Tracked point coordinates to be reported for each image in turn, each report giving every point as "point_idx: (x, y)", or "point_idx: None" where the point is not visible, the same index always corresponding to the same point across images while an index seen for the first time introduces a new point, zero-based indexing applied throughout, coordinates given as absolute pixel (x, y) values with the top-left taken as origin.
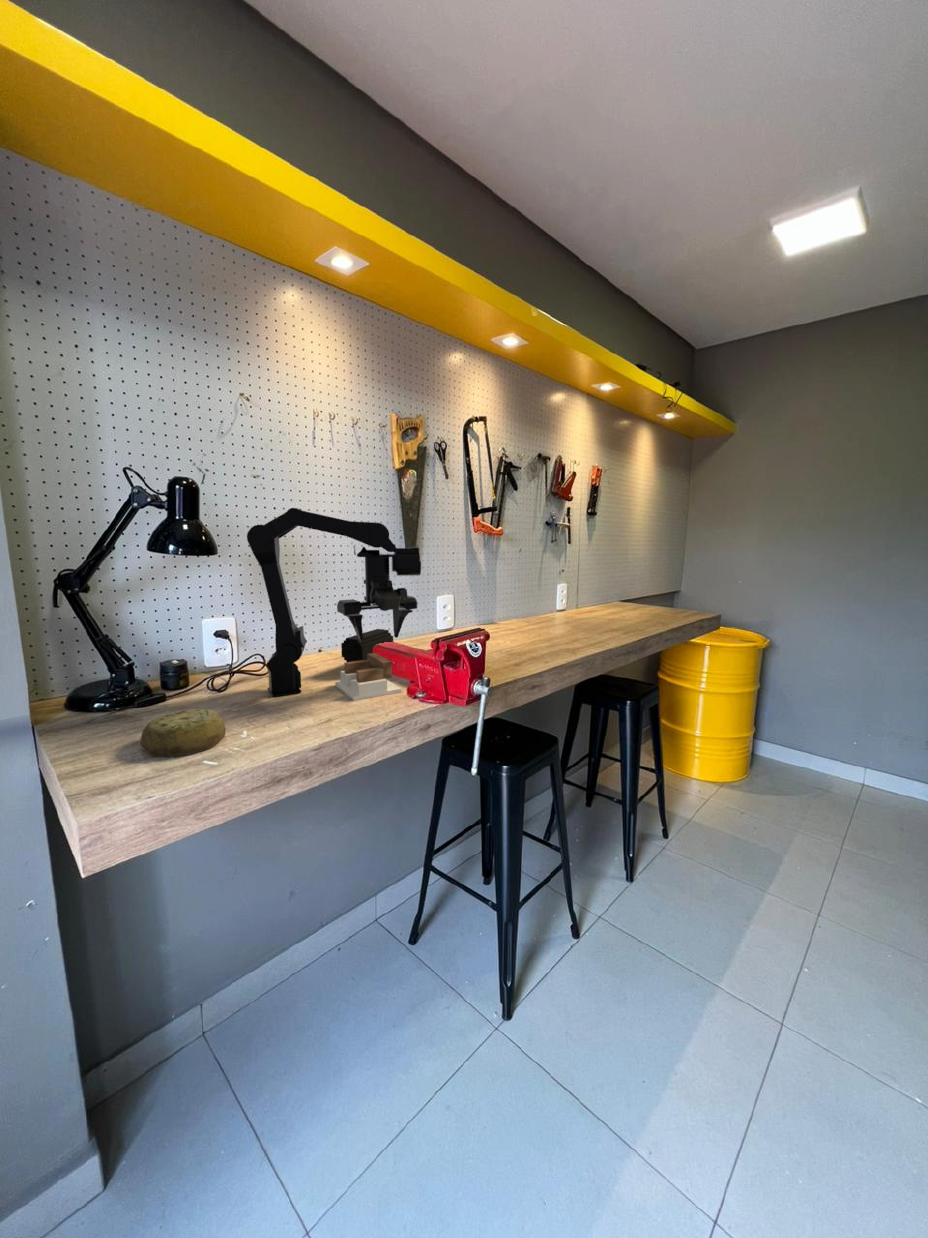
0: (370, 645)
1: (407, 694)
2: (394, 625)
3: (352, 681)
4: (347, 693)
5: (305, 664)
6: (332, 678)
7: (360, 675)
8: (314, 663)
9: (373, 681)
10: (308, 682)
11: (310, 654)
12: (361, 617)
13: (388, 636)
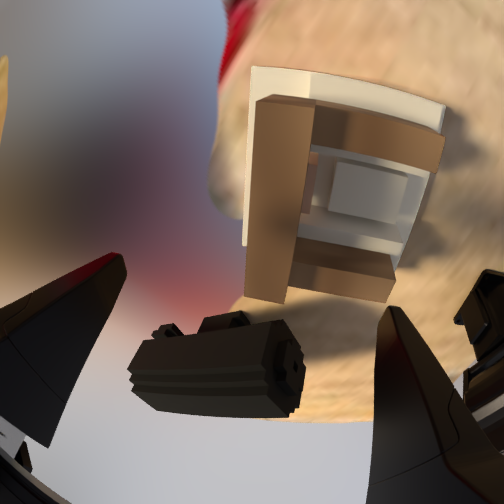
0: (219, 361)
1: (248, 33)
2: (85, 337)
3: (398, 202)
4: None
5: (330, 399)
6: (355, 316)
7: (434, 131)
8: (313, 396)
9: (373, 98)
10: (415, 323)
11: (286, 420)
12: (497, 495)
13: (140, 373)
